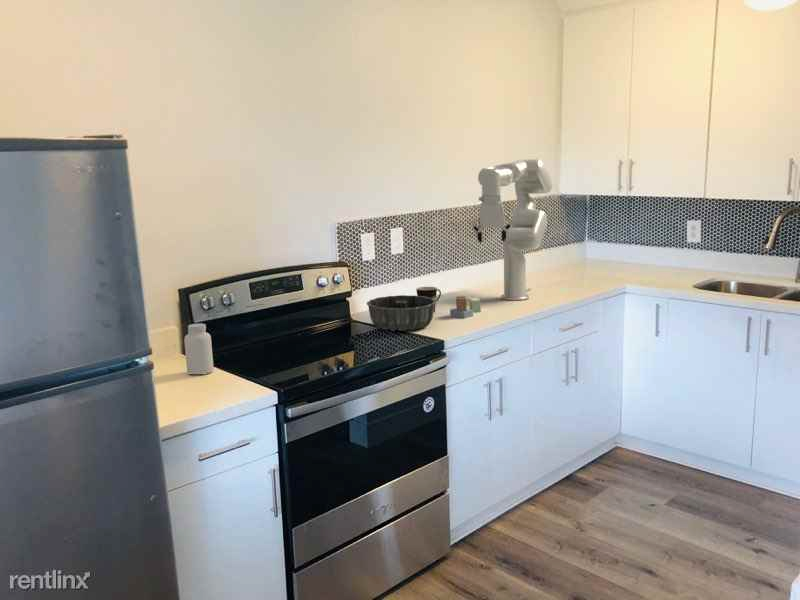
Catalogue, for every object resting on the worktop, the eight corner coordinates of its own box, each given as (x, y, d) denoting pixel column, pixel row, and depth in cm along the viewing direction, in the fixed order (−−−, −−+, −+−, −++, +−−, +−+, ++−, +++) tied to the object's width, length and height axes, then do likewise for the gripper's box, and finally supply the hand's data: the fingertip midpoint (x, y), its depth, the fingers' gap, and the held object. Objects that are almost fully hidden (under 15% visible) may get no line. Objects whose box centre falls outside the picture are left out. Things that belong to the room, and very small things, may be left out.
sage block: (469, 309, 307) (469, 298, 306) (477, 309, 307) (477, 297, 306) (472, 312, 301) (472, 300, 300) (480, 312, 301) (480, 300, 300)
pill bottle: (216, 368, 230) (212, 321, 227) (210, 375, 222) (206, 327, 219) (190, 369, 230) (186, 322, 227) (184, 376, 222) (179, 328, 219)
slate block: (450, 316, 296) (450, 309, 296) (459, 314, 299) (458, 307, 299) (464, 319, 290) (464, 311, 290) (473, 317, 293) (473, 310, 293)
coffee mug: (420, 314, 300) (419, 290, 298) (414, 311, 308) (413, 287, 306) (447, 312, 303) (446, 288, 301) (440, 308, 311) (440, 285, 309)
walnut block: (456, 308, 297) (456, 296, 296) (465, 307, 297) (464, 295, 296) (457, 311, 291) (457, 298, 290) (466, 310, 291) (466, 298, 290)
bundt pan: (451, 325, 279) (450, 299, 277) (401, 338, 261) (400, 310, 259) (402, 316, 298) (402, 292, 296) (353, 328, 280) (352, 302, 278)
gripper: (472, 201, 294) (472, 243, 298) (514, 199, 296) (514, 241, 299) (468, 200, 302) (469, 241, 305) (509, 198, 303) (510, 239, 306)
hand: (491, 241), depth 302 cm, fingers open, 9 cm apart
